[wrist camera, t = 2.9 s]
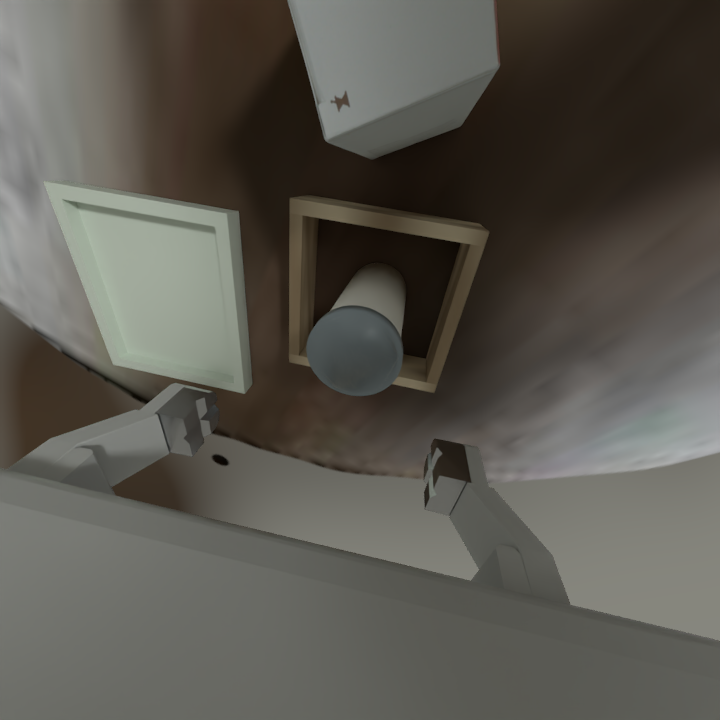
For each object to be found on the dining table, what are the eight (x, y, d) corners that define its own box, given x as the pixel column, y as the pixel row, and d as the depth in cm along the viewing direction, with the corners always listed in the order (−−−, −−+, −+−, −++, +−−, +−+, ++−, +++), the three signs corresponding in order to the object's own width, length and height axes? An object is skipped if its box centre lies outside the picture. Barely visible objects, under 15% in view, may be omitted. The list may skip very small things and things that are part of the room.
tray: (238, 211, 22) (226, 213, 20) (252, 384, 30) (244, 393, 29) (65, 180, 23) (43, 181, 21) (126, 356, 31) (113, 364, 30)
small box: (462, 127, 17) (505, 76, 8) (369, 162, 19) (324, 149, 10) (440, -84, 14) (475, -575, 5) (327, -19, 15) (196, -291, 6)
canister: (415, 266, 22) (412, 323, 13) (402, 325, 24) (392, 404, 16) (351, 254, 22) (308, 302, 14) (344, 314, 25) (304, 385, 16)
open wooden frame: (479, 223, 20) (489, 231, 17) (432, 368, 26) (434, 393, 23) (308, 194, 20) (289, 197, 17) (303, 341, 27) (289, 362, 24)
